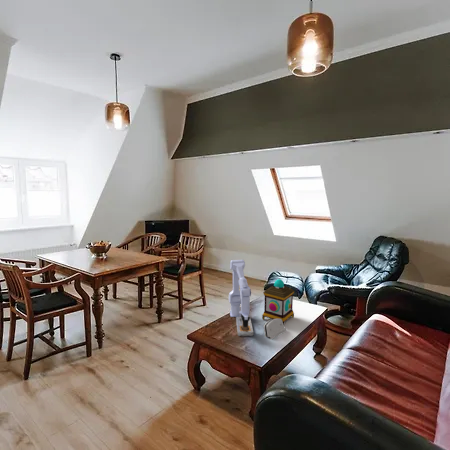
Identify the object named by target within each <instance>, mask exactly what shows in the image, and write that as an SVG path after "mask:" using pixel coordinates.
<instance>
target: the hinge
mask: <svg viewBox="0 0 450 450" xmlns="http://www.w3.org/2000/svg"><path fill="white" fill-rule="evenodd" d="M263 332H264V333H263V334H264V337H265V338H269V339H270V340H272V339H275V338H277V337H278V336H280V335H281V334H284V333H286V332H287V328H286V327H285V324H284V325H283V322H282V319H270V320H267V321H266V322H265V324H263Z"/></svg>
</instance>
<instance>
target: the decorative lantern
mask: <svg viewBox="0 0 450 450" xmlns="http://www.w3.org/2000/svg"><path fill="white" fill-rule="evenodd" d="M294 293H295V290H294V289H292V288H291V287H288V286H287V285H286V284H285V283H284V281H283V280H282V279H281V278H278V279H276V280H275V281H274V283H273V285H272V286H270V287H269V288H266V289H265V290H264V291H263V295H264V307H263V309H264V311H263V313H262V314H261V317H262V320H265V319H266V318H268V319H270V320H272V319H282V322H283V325H284V326H285V322H286V321H288V320H289V319H290V318H295V312H294V310H293V303H294V302H293V300H294Z"/></svg>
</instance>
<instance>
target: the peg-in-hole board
mask: <svg viewBox="0 0 450 450" xmlns="http://www.w3.org/2000/svg"><path fill="white" fill-rule="evenodd" d="M235 322H236V331H237V336H239V337H240V336H241V337H247V336H254V329H253V324H252V321H251V318H250V319H249V321H248V330H242V318H241V317H235Z"/></svg>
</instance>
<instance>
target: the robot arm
mask: <svg viewBox="0 0 450 450" xmlns="http://www.w3.org/2000/svg"><path fill="white" fill-rule="evenodd" d="M245 266H246V262H245V260H244V259H231V260H230V262H229V270H231V271H232V290H231V291H230V292H229V293H228V302H229V304H230V311H229V314H230V317H233V318H234V317H235V318H236V317H241V318H242V320H243V325H244V327H247V325H248V321H249V319H251V316H250V314H251V312H250V311H251V309H250V305H251V304H250V303H251V301H250V300H251V299H250V298H251V296H252V289H251V287H250V286H249V284H248V280H247V278H246V277H245V273H244V270H245Z"/></svg>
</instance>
